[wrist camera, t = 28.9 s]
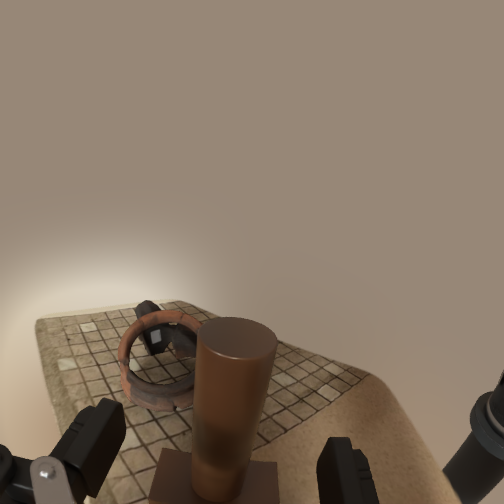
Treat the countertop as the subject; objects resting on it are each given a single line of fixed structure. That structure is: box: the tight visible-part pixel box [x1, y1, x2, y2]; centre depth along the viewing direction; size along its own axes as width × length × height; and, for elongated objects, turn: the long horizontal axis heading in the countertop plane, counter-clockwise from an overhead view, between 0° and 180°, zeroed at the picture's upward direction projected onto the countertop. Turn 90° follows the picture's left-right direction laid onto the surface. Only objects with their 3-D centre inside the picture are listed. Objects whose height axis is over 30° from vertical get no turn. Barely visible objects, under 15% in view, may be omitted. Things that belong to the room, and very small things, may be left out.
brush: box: [148, 317, 280, 504], centre depth 12 cm, size 7×4×13 cm, turn 90°
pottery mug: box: [118, 300, 203, 412], centre depth 24 cm, size 12×10×8 cm
